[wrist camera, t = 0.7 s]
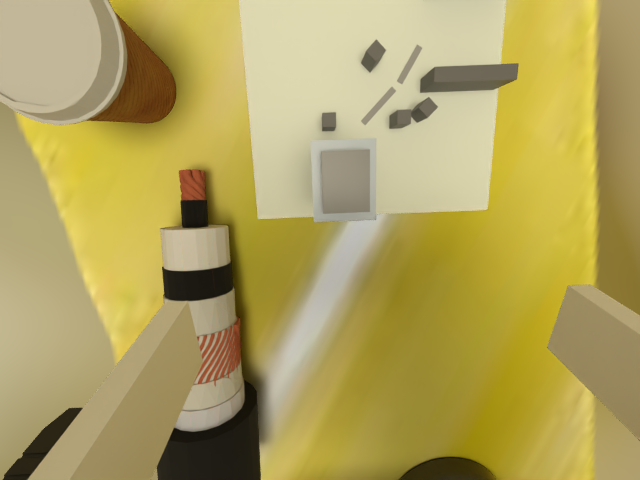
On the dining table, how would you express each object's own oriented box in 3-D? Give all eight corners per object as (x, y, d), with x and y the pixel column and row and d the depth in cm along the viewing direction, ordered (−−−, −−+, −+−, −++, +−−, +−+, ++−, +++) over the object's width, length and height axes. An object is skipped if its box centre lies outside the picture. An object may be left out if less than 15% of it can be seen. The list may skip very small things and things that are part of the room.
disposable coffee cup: (175, 21, 27) (70, -88, 16) (205, 129, 30) (133, 102, 18) (76, 45, 28) (-97, -45, 16) (114, 149, 30) (-15, 137, 18)
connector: (353, 200, 31) (379, 223, 18) (314, 202, 31) (313, 225, 18) (352, 150, 30) (380, 136, 17) (312, 152, 30) (309, 138, 17)
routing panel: (484, 209, 32) (508, 214, 28) (258, 218, 32) (250, 225, 28) (504, -16, 27) (536, -47, 23) (239, -6, 27) (226, -36, 23)
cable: (234, 176, 35) (259, 166, 26) (248, 440, 39) (273, 509, 30) (133, 174, 30) (122, 161, 22) (160, 474, 35) (161, 567, 26)
